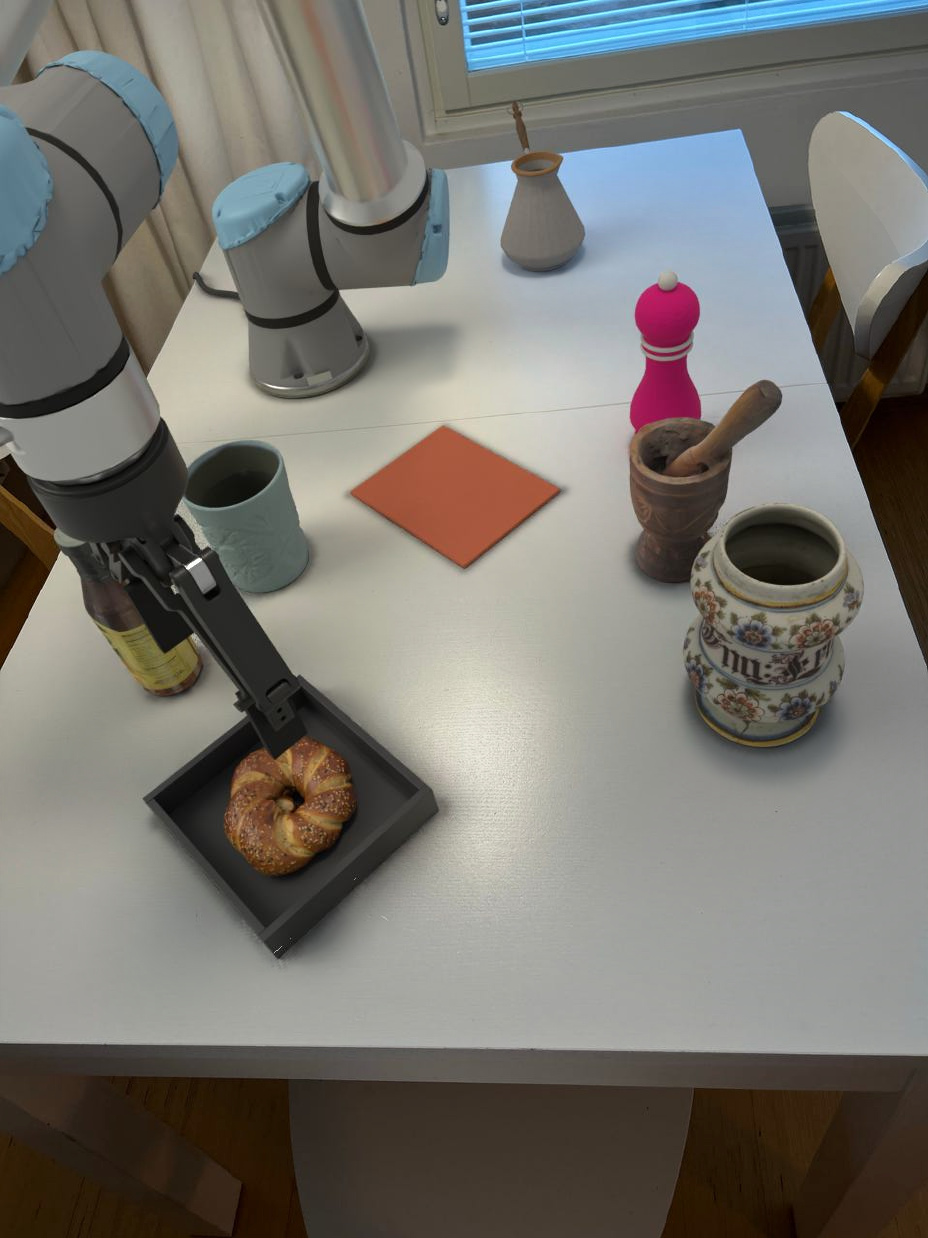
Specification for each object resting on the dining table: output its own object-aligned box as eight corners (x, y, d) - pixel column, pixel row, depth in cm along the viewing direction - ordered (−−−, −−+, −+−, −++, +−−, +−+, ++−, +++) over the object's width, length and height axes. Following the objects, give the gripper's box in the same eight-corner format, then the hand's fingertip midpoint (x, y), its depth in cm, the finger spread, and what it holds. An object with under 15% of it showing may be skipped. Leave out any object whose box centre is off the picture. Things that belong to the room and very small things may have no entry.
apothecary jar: (863, 731, 74) (912, 575, 61) (722, 779, 73) (740, 632, 60) (785, 623, 82) (813, 464, 69) (657, 666, 81) (660, 513, 68)
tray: (157, 818, 78) (141, 798, 76) (309, 696, 85) (299, 673, 82) (277, 959, 69) (263, 941, 66) (439, 810, 75) (432, 789, 73)
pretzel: (338, 888, 72) (326, 866, 69) (207, 874, 74) (190, 852, 71) (374, 754, 79) (364, 729, 76) (255, 745, 81) (241, 721, 79)
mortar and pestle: (741, 513, 92) (760, 334, 77) (767, 577, 86) (792, 397, 71) (623, 532, 92) (619, 358, 77) (640, 596, 87) (639, 422, 72)
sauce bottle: (145, 653, 91) (48, 501, 76) (208, 643, 91) (122, 488, 76) (135, 708, 87) (30, 558, 72) (201, 697, 86) (109, 545, 71)
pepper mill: (698, 468, 97) (707, 292, 82) (627, 467, 98) (623, 294, 83) (700, 424, 101) (710, 249, 86) (633, 423, 103) (630, 252, 88)
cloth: (350, 494, 102) (349, 491, 102) (443, 427, 107) (443, 425, 107) (464, 568, 92) (463, 565, 92) (560, 491, 97) (560, 488, 97)
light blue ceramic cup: (238, 612, 93) (194, 525, 84) (208, 553, 99) (165, 465, 90) (331, 569, 95) (298, 479, 86) (296, 513, 101) (262, 424, 92)
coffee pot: (594, 268, 125) (589, 153, 114) (510, 285, 125) (496, 173, 114) (562, 198, 139) (555, 89, 128) (486, 214, 139) (472, 107, 128)
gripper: (-67, 395, 54) (95, 633, 69) (155, 596, 40) (294, 836, 56) (49, 332, 56) (179, 575, 72) (292, 500, 43) (388, 754, 59)
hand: (229, 689), depth 64 cm, fingers open, 13 cm apart
